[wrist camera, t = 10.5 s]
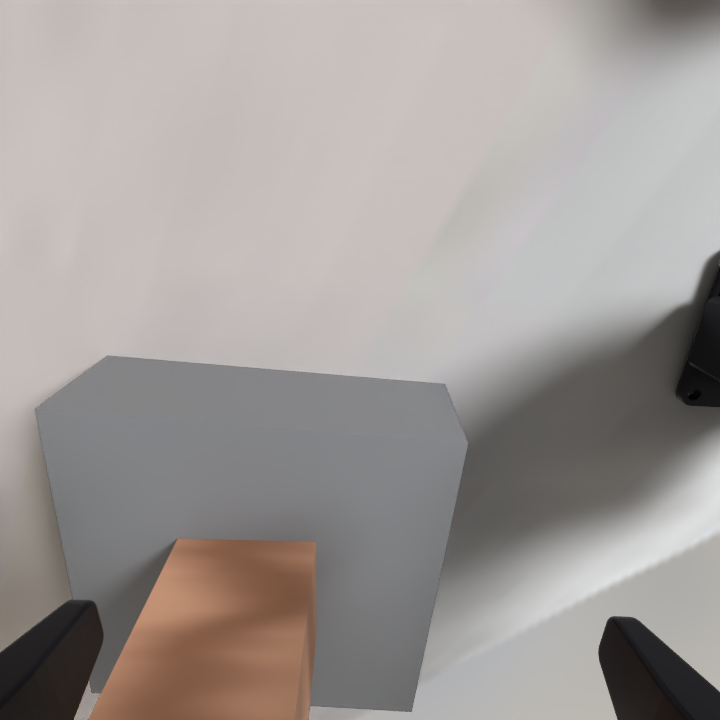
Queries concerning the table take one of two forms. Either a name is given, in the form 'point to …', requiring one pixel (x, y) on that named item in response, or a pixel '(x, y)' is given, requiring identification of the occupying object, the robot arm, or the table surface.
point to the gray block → (262, 499)
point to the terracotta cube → (221, 636)
